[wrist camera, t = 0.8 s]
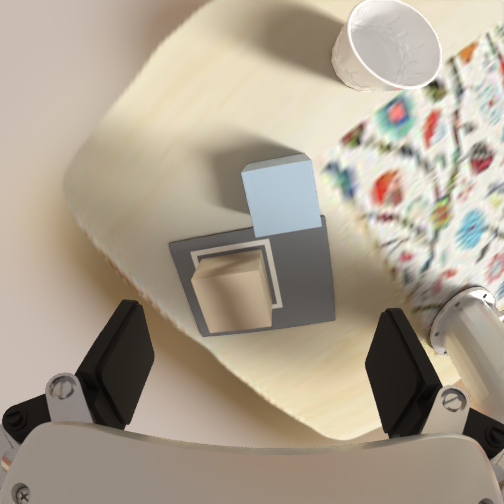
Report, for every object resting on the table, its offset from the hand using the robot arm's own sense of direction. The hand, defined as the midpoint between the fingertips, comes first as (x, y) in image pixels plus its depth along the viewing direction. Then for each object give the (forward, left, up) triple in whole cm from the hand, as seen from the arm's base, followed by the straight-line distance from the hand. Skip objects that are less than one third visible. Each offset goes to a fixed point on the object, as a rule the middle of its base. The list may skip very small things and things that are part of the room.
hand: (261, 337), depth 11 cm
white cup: (-12, -13, -22) cm, 29 cm away
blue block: (-1, -1, -22) cm, 22 cm away
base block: (+6, +9, -22) cm, 24 cm away
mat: (+4, +10, -22) cm, 25 cm away
